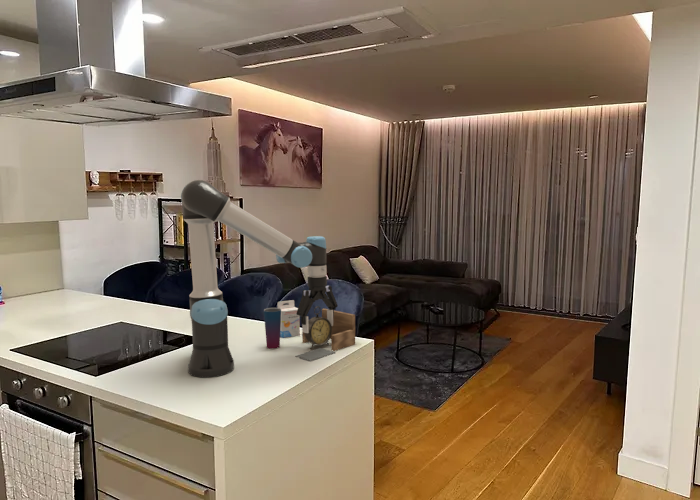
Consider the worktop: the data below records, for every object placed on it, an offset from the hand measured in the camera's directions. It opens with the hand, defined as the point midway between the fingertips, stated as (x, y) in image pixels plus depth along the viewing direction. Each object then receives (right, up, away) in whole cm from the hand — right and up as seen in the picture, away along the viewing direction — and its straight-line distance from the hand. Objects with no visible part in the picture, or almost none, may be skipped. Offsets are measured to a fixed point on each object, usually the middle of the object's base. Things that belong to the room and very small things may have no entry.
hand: (318, 329), depth 194 cm
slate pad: (0, -8, -10) cm, 13 cm away
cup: (-18, -7, 0) cm, 19 cm away
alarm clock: (0, -7, +1) cm, 7 cm away
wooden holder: (+4, -7, +5) cm, 9 cm away
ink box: (-14, -6, +17) cm, 22 cm away
